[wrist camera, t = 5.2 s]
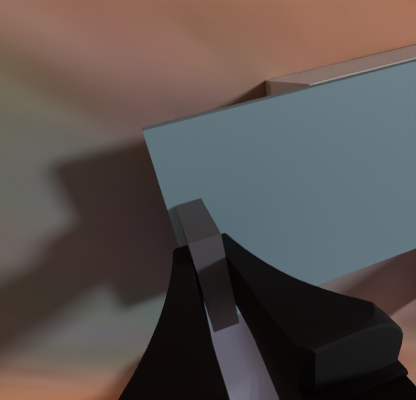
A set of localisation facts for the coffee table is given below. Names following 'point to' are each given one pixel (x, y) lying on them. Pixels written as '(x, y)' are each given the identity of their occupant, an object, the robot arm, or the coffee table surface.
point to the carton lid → (294, 180)
